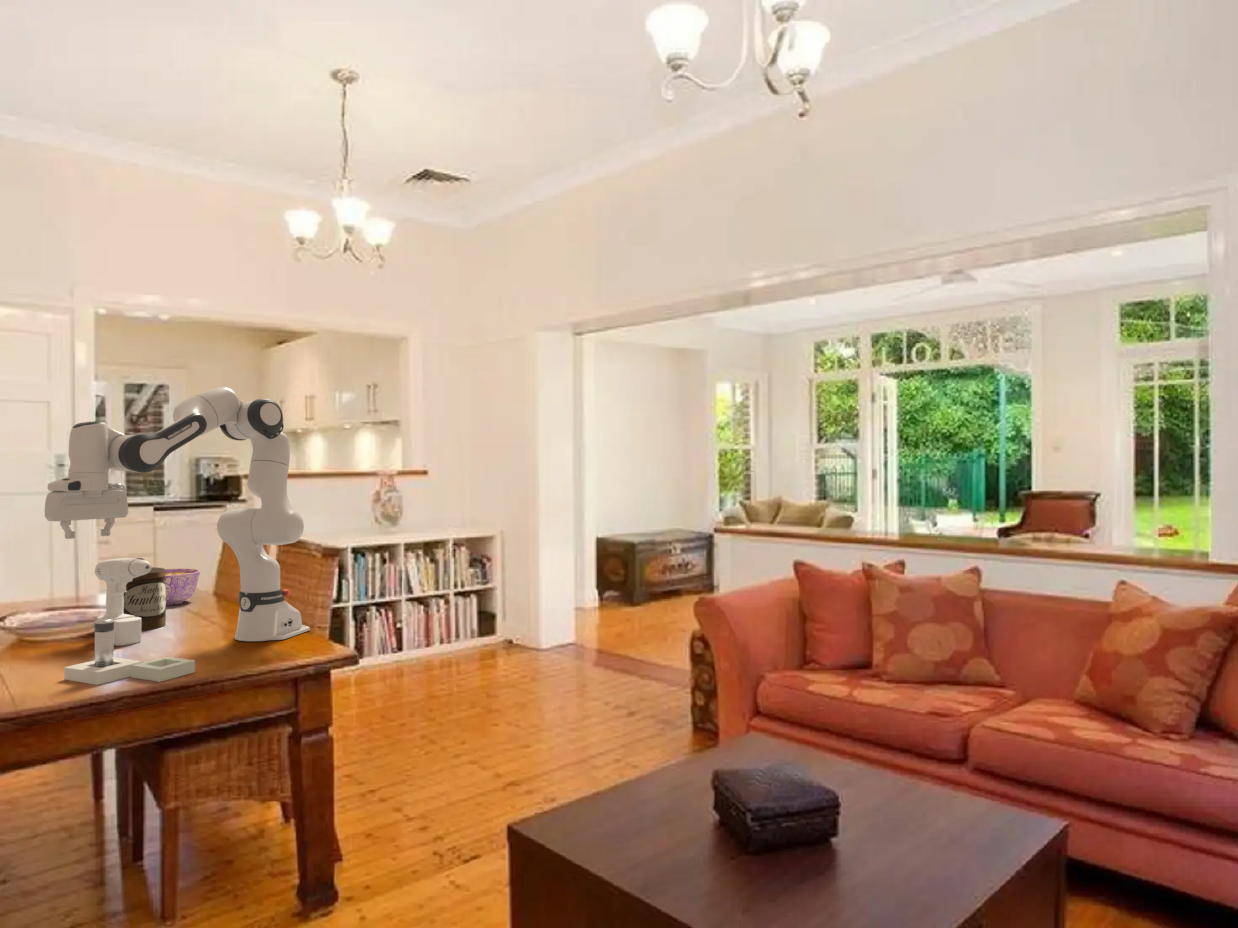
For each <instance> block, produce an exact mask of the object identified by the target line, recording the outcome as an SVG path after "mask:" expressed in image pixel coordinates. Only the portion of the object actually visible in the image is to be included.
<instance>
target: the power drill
mask: <svg viewBox="0 0 1238 928" xmlns="http://www.w3.org/2000/svg"><path fill="white" fill-rule="evenodd" d="M151 568H152V564H151V562H149V561H148V560H140V559H136V558H132V557H121V558H120V557H119V558H112V559H111V558H110V559H106V560H103V561H102V560H101V561H100V562H98V563H96V565H95V569H94V574H95V576H96V577H97V578H98V579H99V580H102V581H104V582H105V584H106V593H105V594H106V595H105V611H106V613H105V615H101V616H97V617H96V620H99V619H114V646H117V647H118V646H119V647H121V646H129V645H134V644H139V643H140V642H141V641H142V630H141V618H140V617H135V616H133V615H128V614H124V593H125V592H127V591H126V584H127V583H128V582H132V580H133V578H136V577H139V576H142V575H145V574H147V573H149V572H150V571H151Z"/></svg>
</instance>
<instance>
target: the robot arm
mask: <svg viewBox="0 0 1238 928" xmlns="http://www.w3.org/2000/svg"><path fill="white" fill-rule="evenodd" d="M172 412H173V413H172V418H173V419H172V420H173V423H171V424H169V425H168V426H165V427H164V428H162V429H161V430H158V431H157V432H153V433H140V434H125V433H123V432H120V431H118V430H115V429H114V428H112V427H111V426H110V425H108V424H107V423H106V422H105V421H103V420H102V421H101V420H94V421H84V422H78V423H77V424H74V425H73V426H72V428H71V429H70V432H69V439H68V457H69V458H68V459H69V461H70V463H69V464H70V465H69V468H68V473H67V474H68V476H66V477H63V478H59V479H57V480H56V479H55V480H54V481H50V482H49V483H48V484H47V490H48V491H49V492H48V493H47V495H46V497H45V503H44V517H45V519H46V520H47V521H48V522H59V525H60V527H61V529H62V530H63V532H64V538H65V539H66V540H70V539H75V538H76V531H72V528H71V527H70V526H71V525H72V521H84V520H85V521H88V520H102V519H103V520H104V523H105V525H104V526H103V528H100V536H101V537H108V536H111V530H112V528H113V526H114V524H115V522H116V521H115V520H116V519H121V518H126V517H127V516H128V515H129V504H128V503H129V502H128V497H127V488H126V487H125V485H123V484H122V483H119V482H118V483H117V482H116V483H113V482H112V483H111V482H110V483H109V470H110V469H111V470H112V471H116V472H117V471H120V472H121V471H122V472H135V473H143V474H144V473H145V474H147V473H150V472H153V471H155V470H156V469H158V468H159V467H160V466H161V465H162V464H163V462H164V461H165V460H166V458H168V456H169V455H170V454H172V453H173V452H175V451H176V450H178V449H180V448H181V447H183V446H184V445H186V444H188V443H189V442H191V441H193V440H195V439H196V438H197V437H200V436H203V435H205V434H207V433H210V432H212V431H214V430H215V429H218V428H220V431H221V432H222V434H224V436H226V437H227V438H228V439H230V440H234V441H246V440H250V442H251V446H252V454H251V459H250V464H249V470H248V471H249V472H248V477H247V483H246V485H247V488H248V491H250V493H251V494H253V495H254V496H256V497H258V498H259V499H260V501H261V507H260V508H249V507H248V508H247V507H246V508H245V507H243V508H234V509H231V510H230V509H229V510H226V511H224V512H223V513H222V514H220V516H219V518H218V520H217V523H216V531H217V534H218V536H219V538H220V539H221V540H222V541H223V542H224V543H226V545H228V546H229V547H230V549H232V551H233V553H234V555H235V557H236V559H237V562H238V565H239V576H240V578H239V579H240V591H238V604H239V610H238V620H237V627H236V631H235V634H234V635H235V636H234V640H237V641H239V642H240V641H241V642H265V641H281V640H285V639H289V638H293V637H295V636H298V635H300V634H303V633H305V632H308V631H310V630H311V629H310V626H307V625H305V624H303V621H302V614H301V612H300V611H299V610H298V609H297V608H295V607H294V606H292V605H291V604H289V602H287V601H286V599H285V596H286V597H290V596H291V593H292V590H290V589H286V588H285V589H284V588H283V589H282V588H281V566H280V563H279V562H278V560H276V559H275V558H273V557H272V556H270V555H268V553H267V552H266V550H265V548H264V545H265V546H267V545H269V546H271V545H272V546H283V545H288V544H293V543H296V542H297V541H299V540H300V538H301V537H302V535H303V533H304V531H305V526H304V524H305V523H304V519H303V518H302V516H301V514H300V513H299V512H298V511H296V509H295V508H294V507H293V506H292V505H291V502H290V500H289V496H288V491H287V490H288V489H287V487H288V486H287V485H288V475H289V468H290V456H291V448H290V447H291V445H290V439H289V436H288V435H286V433H284V432H283V430H284V423H283V422H284V415H283V414H284V413H283V412H282V408H281V407H280V405H279V404H278V403H277V402H276V401H274V400H272V399H269V398H258V399H257V398H256V399H255V400H248V401H245V402H242V401H241V400H240V398H239V397H238V394H237V393H236V392H235V391H234V390H233V389H231V388H229V387H226V386H218V387H214V388H211V389H207V390H204V391H201V392H199V393H197V394H195V395H193V396H190V397H188V398H186V399H184V400H183V401H181V402H180V403H178V404H177V405H176V406H175V407H174V409H173V411H172Z"/></svg>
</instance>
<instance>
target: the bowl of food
mask: <svg viewBox="0 0 1238 928" xmlns="http://www.w3.org/2000/svg"><path fill="white" fill-rule="evenodd" d="M164 569H165V591H166V606H172V605H173V604H175V605H180V604H183V602H185V601H186V600H188V599H190V598H191V597H192V596H193V595H194V594H195V592H196V590H197V585H198V581H199V577H200V572H201V570H200V569H196V568H164ZM173 606H174V605H173Z"/></svg>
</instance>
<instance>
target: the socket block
mask: <svg viewBox="0 0 1238 928" xmlns="http://www.w3.org/2000/svg"><path fill="white" fill-rule="evenodd" d="M143 662H144V661H143V660H136V659H129V658H121V657H115V656H114V665H112V666H107V667H103V668H98V667H95V659H94V660H91V661H85V662H80V663H77V664H72V665H69V666H65V667H64V668H63V670H64V671H63V678H64V679H63V680H65V681H71V682H79V683H82V684H83V683H84V684H90V685H96V686H99V685H103V684H106V683H107V684H108V683H111V682H114V681H118V680H123V679H126V678H130V677H131V665H135V664H139V663H143Z"/></svg>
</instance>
